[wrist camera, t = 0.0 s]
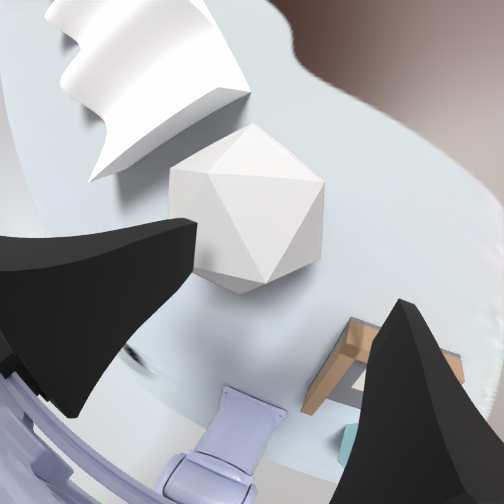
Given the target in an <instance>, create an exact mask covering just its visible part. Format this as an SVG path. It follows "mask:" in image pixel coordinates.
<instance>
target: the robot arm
mask: <svg viewBox="0 0 504 504" xmlns="http://www.w3.org/2000/svg"><path fill="white" fill-rule="evenodd" d="M197 226H198V223H197V222H195V221H192V220H189V219H186V218H173V219H167V220H162V221H157V222H152V223H147V224H143V225H138V226H133V227H129V228H123V229H118V230H113V231H108V232H102V233H96V234H89V235H81V236H72V237H55V238H18V237H6V236H0V504H101V503H100V502H98V501H97V500H95V499H94V498H93V497H91V496H90V495H89V494H87V493H86V492H85V491H83V490H82V489H81V488H80V487H78V486H77V485H76V484H75V483H73V482H72V481H71V480H70V479H69V477H70V476H71V475H72V474H73V473H74V471H73V469H72V468H71V467H70V466H69V465H68V464H67V463H66V462H65V461H64V460H63V459H62V458H61V457H60V456H59V455H58V454H57V453H56V452H55V451H54V450H53V449H52V448H50V447H49V446H48V445H47V444H46V443H45V442H44V441H43V440H42V439H41V438H40V437H39V436H38V435H36V434H35V433H34V431H33V426H34V424H33V422H34V423H35V424H36V425H37V426H38V427H39V428H40V430H41V431H42V432H43V433H44V434H45V435H46V436H47V437H48V438H49V439H50V440H51V441H52V442H53V443H54V444H55V445H56V446H57V447H58V448H60V450H62V451H63V452H64V453H65V454H66V455H67V456H68V457H69V458H70V459H71V460H73V461H74V462H75V463H76V464H77V465H78V466H79V467H81V468H82V469H83V470H84V471H86V472H87V473H88V474H89V475H90V476H92V477H93V478H94V479H96V480H97V481H98V482H100V483H101V484H102V485H104V486H105V487H106V488H108V489H109V490H110V491H112V492H113V493H115V494H116V495H117V496H119V497H120V498H122V499H123V500H125V501H127V502H128V503H129V504H254V502H255V499H256V497H257V494H258V491H257V488H256V486H255V485H254V484H251V482H252V480H253V477H252V475H253V473H254V471H255V469H256V467H257V465H258V463H259V460H260V458H261V456H262V454H263V452H264V450H265V448H266V445H267V443H268V441H269V439H270V437H271V436H272V435H273V433H274V432H275V431H276V429H277V428H278V426H279V425H280V424H281V422H282V421H283V419H284V418H285V416H286V414H287V412H286V411H284V410H282V409H279V408H277V407H274V406H272V405H269V404H267V403H264V402H262V401H259V400H257V399H255V398H252V397H250V396H248V395H245V394H243V393H241V392H239V391H236V390H234V389H232V388H230V387H227V386H225V387H224V388H223V392H222V396H221V400H220V405H219V409H218V412H217V414H216V415H215V417H214V419H213V420H212V422H211V424H210V425H209V427H208V428H207V430H206V432H205V433H204V435H203V436H202V438H201V440H200V441H199V443H198V444H197V446H196V447H195V449H194V451H193V450H190V451H189V453H188V454H185V453H180V454H176V455H174V456H173V457H172V458H171V459H170V460H169V462H168V463H167V464H166V466H165V467H164V469H163V470H162V472H161V474H160V475H159V477H158V479H157V481H156V483H155V486H154V488H153V489H152V490H151V489H150V488H148V487H146V486H145V485H143V484H142V483H140V482H138V481H137V480H135V479H134V478H132V477H131V476H129V475H128V474H126V473H125V472H123V471H122V470H120V469H119V468H118V467H116V466H115V465H113V464H112V463H111V462H109V461H108V460H106V459H105V458H104V457H103V456H101V455H100V454H99V453H97V452H96V451H95V450H94V449H92V448H91V447H90V446H89V445H87V444H86V443H85V442H84V441H83V440H82V439H80V438H79V437H78V436H77V435H76V434H75V433H73V432H72V431H71V430H70V429H69V428H68V427H67V426H66V425H65V424H64V423H62V422H61V421H60V420H59V419H58V418H57V417H56V416H55V415H54V414H53V413H52V412H51V411H50V410H49V409H48V408H47V407H46V406H45V405H44V404H43V403H42V402H41V400H40V399H39V398H38V397H37V396H38V395H39V394H40V395H41V396H42V397H43V398H44V399H45V400H46V401H47V402H48V401H50V402H51V403H52V404H54V406H55V407H56V408H58V409H59V411H60V412H62V413H63V414H64V415H65V416H66V417H67V418H77V417H78V415H79V413H80V411H81V409H82V408H83V406H84V404H85V402H86V400H87V399H88V397H89V395H90V393H91V391H92V390H93V388H94V387H95V385H96V384H97V382H98V381H99V379H100V378H101V376H102V374H103V373H104V371H105V370H106V369H107V367H108V366H109V364H110V363H111V362H112V360H113V359H114V357H115V356H116V355H117V353H118V352H119V351H120V350H121V348H122V347H123V346H124V345H125V343H126V342H127V341H128V340H129V338H130V337H131V336H132V335H133V334H134V333H135V332H136V330H137V329H138V328H139V327H140V326H141V325H142V324H143V323H144V322H145V321H146V320H147V319H149V318H150V317H151V316H152V315H153V314H154V313H155V312H156V311H157V310H158V309H159V308H160V307H161V306H162V305H163V304H164V303H165V302H166V301H167V300H168V299H169V298H170V297H171V296H172V295H173V294H174V293H175V292H176V291H177V290H178V289H179V288H180V287H181V286H182V284H183V283H184V282H185V281H186V279H187V278H188V277H189V275H190V274H191V273H192V271H193V268H194V257H195V246H196V236H197ZM329 504H504V443H503V442H502V441H501V439H500V438H499V437H498V436H497V435H496V433H495V432H494V431H493V430H492V428H491V427H490V426H489V425H488V423H487V422H486V420H485V419H484V418H483V416H482V415H481V414H480V412H479V411H478V410H477V408H476V407H475V405H474V404H473V403H472V401H471V399H470V398H469V396H468V395H467V393H466V392H465V390H464V389H463V387H462V386H461V384H460V382H459V381H458V379H457V377H456V376H455V374H454V372H453V370H452V369H451V367H450V365H449V364H448V362H447V360H446V358H445V356H444V355H443V353H442V351H441V349H440V347H439V346H438V344H437V342H436V340H435V338H434V336H433V335H432V333H431V331H430V329H429V327H428V325H427V324H426V322H425V320H424V318H423V317H422V315H421V313H420V312H419V310H418V309H417V307H416V306H415V305H414V304H412V303H410V302H407V301H404V300H402V299H398V301H397V302H396V304H395V306H394V308H393V309H392V311H391V313H390V314H389V316H388V317H387V319H386V321H385V322H384V324H383V326H382V327H381V329H380V330H379V332H378V333H377V335H376V336H375V338H374V339H373V341H372V345H371V349H370V353H369V357H368V362H367V366H366V374H365V383H364V390H363V398H362V405H361V412H360V418H359V424H358V429H357V433H356V437H355V440H354V443H353V446H352V449H351V452H350V455H349V458H348V461H347V464H346V466H345V469H344V471H343V474H342V476H341V479H340V481H339V484H338V486H337V488H336V490H335V492H334V494H333V497H332V499H331V501H330V503H329Z"/></svg>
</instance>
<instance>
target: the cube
mask: <svg viewBox="0 0 504 504" xmlns="http://www.w3.org/2000/svg"><path fill="white" fill-rule="evenodd" d="M358 424H359V423H356V424H347V425H346V427H345V432H344V436H343V440H342V444H341V448H340V451H339V455H338V459H337V461H338V462H339V463H340V464H341V465H342V466H343V468H344V469H345V466H346V464H347V461H348V458H349V455H350V452H351V449H352V446H353V443H354V440H355V437H356V433H357V429H358Z"/></svg>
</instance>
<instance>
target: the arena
mask: <svg viewBox="0 0 504 504" xmlns="http://www.w3.org/2000/svg"><path fill="white" fill-rule="evenodd" d="M380 329H381V327H378V326H375V325H373V324H370V323H367V322H364V321H362V320H359V319H356V318H354V317H351V318H350V320H349V322H348V324H347V325H346V327H345V329H344V331H343V333H342V334H341V336H340V338H339V340H338V341H337V343H336V345H335V346H334V348H333V350H332V352H331V353H330V355H329V357H328V358H327V360H326V362H325V363H324V365H323V366H322V368H321V370H320V371H319V373H318V374H317V376H316V378H315V379H314V381H313V382H312V384H311V385H310V387H309V388H308V391H307V394H306V397H305V400H304V403H303V406H302V408H301V411H300V412H303V413H305V414H308V415H311V416H312V415H313V414H314V412H315V411H316V410H317V409H318V408H319V406H320V405H321V404H322V403H323V401H324V400H325V399H326V398H327V399H330V400H333V401H336V402H339V403H342V404H345V405H349V406H352V407H355V408H358V409H361V405H362V398H363V390H364V383H365V374H366V366H367V362H368V357H369V353H370V349H371V345H372V341H373V339H374V338H375V336H376V335H377V333H378V332H379V330H380ZM441 351H442V353H443V355H444V356H445V358H446V360H447V362H448V364H449V365H450V367H451V369H452V370H453V372H454V374H455V376H456V377H457V379H458V381H459V382H460V384H461V385H462V384H463V383H464V382H465V380H464V374H463V368H462V362H461V357H460V355H458V354H455V353H452V352H449V351H446V350H443V349H441Z"/></svg>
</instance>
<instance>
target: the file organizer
mask: <svg viewBox="0 0 504 504" xmlns="http://www.w3.org/2000/svg"><path fill="white" fill-rule="evenodd" d="M45 18H46V20H47V21H48V22H49V23H50V24H51V25H52V26H54V27H56V28H57V29H59V30H60V31H62V32H64V33H65V34H67V35H68V36H70V37H71V38H73V39H74V40H75V41H76V42H77V43H78V44H79V46H80V48H81V51H80V52H79V54H78V55H77V56H76V57H75V59H74V60H73V61H72V63H71V64H70V65H69V67H68V68H67V69H66V71H65V72H64V74H63V75H62V78H61V81H60V85H61V88H62V90H63V91H64V92H65V93H66V94H67V95H68V96H70V97H71V98H72V99H74V100H76V101H77V102H79V103H81V104H82V105H84V106H86V107H87V108H89V109H91V110H92V111H94V112H95V113H96V114H98V115H99V116H100V117H101V118H102V119H103V121H104V122H105V124H106V127H107V137H106V141H105V145H104V147H103V150H102V152H101V155H100V157H99V160H98V162H97V164H96V166H95V168H94V171H93V173H92V175H91V177H90V180H89V182H92V181H94V180H97V179H100V178H103V177H105V176H108V175H111V174H114V173H117V172H120V171H123V170H126V169H128V168H129V167H130V166H132V165H133V164H134V163H136V162H137V161H138V160H140V159H141V158H143V157H144V156H145V155H147V154H148V153H150V152H151V151H153V150H154V149H156V148H157V147H158V146H160V145H161V144H163V143H164V142H166V141H167V140H169V139H170V138H172V137H174V136H175V135H177V134H178V133H180V132H181V131H183V130H185V129H186V128H188V127H189V126H191V125H193V124H194V123H196V122H198V121H199V120H201V119H203V118H204V117H206V116H208V115H210V114H211V113H213V112H215V111H217V110H218V109H220V108H222V107H224V106H226V105H227V104H229V103H231V102H233V101H235V100H237V99H239V98H240V97H242V96H244V95H246V94H248V93H250V92H251V90H250V88H249V86H248V84H247V82H246V80H245V78H244V76H243V74H242V72H241V70H240V68H239V66H238V64H237V62H236V60H235V58H234V57H233V55H232V53H231V51H230V49H229V47H228V45H227V43H226V41H225V39H224V38H223V36H222V34H221V32H220V30H219V28H218V27H217V25H216V23H215V21H214V19H213V18H212V16H211V14H210V12H209V11H208V9H207V7H206V5H205V4H204V2H203V0H55V1H54V2H53V3H52V5H51V6H50V8H49V9H48V10H47V12H46V14H45ZM89 182H88V183H89Z"/></svg>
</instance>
